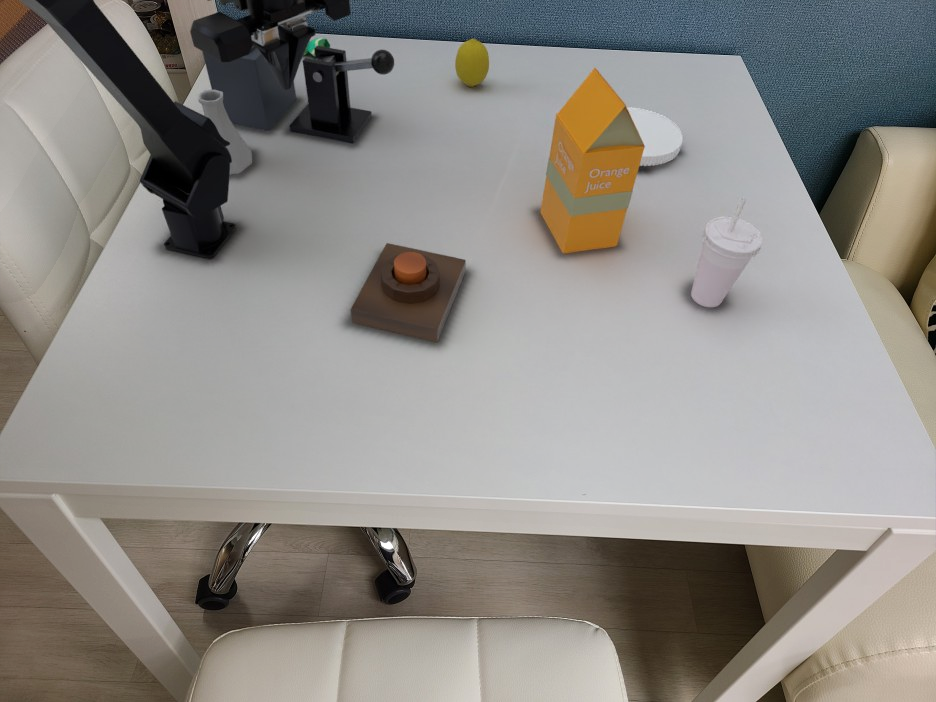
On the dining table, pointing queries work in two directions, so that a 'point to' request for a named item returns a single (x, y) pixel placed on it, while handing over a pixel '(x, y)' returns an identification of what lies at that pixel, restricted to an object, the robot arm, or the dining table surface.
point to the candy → (315, 43)
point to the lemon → (472, 62)
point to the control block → (409, 295)
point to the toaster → (249, 90)
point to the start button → (410, 268)
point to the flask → (226, 129)
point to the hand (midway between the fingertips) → (286, 88)
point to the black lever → (365, 63)
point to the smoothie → (724, 256)
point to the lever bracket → (329, 101)
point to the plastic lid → (656, 136)
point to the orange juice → (591, 168)
